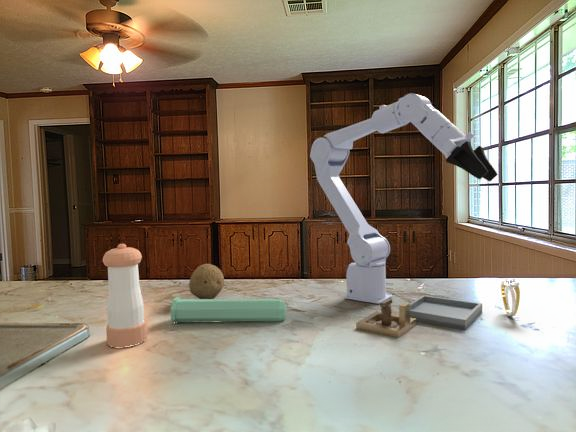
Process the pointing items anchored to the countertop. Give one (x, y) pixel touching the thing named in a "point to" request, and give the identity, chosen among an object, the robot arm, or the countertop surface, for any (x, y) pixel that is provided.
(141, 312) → the salt shaker
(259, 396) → the countertop surface
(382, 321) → the brown stamp
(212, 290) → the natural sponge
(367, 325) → the wooden frame with post
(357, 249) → the robot arm
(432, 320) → the tray
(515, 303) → the ring
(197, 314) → the container
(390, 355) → the countertop surface
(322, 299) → the countertop surface
